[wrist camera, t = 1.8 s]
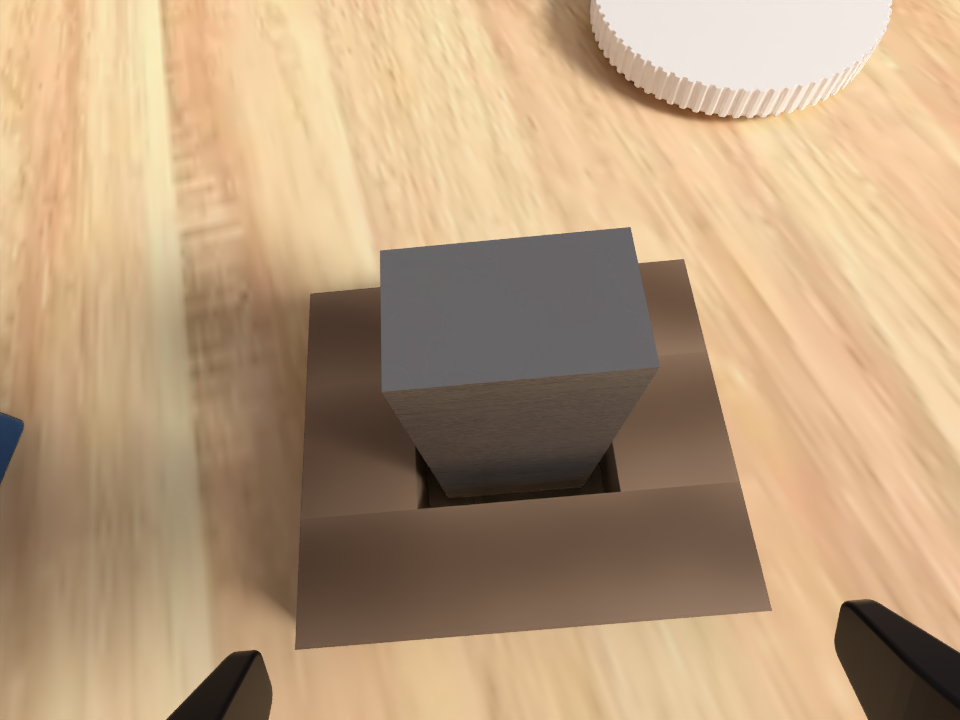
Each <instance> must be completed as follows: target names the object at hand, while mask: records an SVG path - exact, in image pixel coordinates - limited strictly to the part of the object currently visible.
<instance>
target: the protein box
mask: <svg viewBox="0 0 960 720" xmlns="http://www.w3.org/2000/svg"><path fill="white" fill-rule="evenodd" d="M23 426H24V425H23V422H22V420H20V419H17V418H14V417H12V416H9V415H6V414H4V413H1V412H0V483H1V481H2V478H3V476H4V473H5V471H6V468H7V466H8V464H9V461H10V459H11V457H12V454H13V452H14V449H15V447H16V445H17V443H18V440H19V437H20V435H21V433H22V430H23Z"/></svg>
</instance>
